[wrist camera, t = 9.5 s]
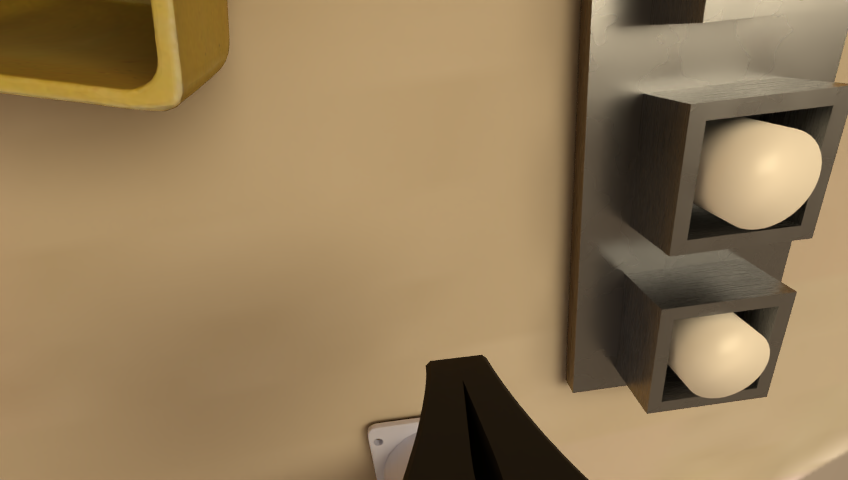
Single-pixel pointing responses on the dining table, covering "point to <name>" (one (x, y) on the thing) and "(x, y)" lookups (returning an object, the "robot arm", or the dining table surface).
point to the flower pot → (112, 50)
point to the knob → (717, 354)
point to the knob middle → (755, 171)
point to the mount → (686, 178)
